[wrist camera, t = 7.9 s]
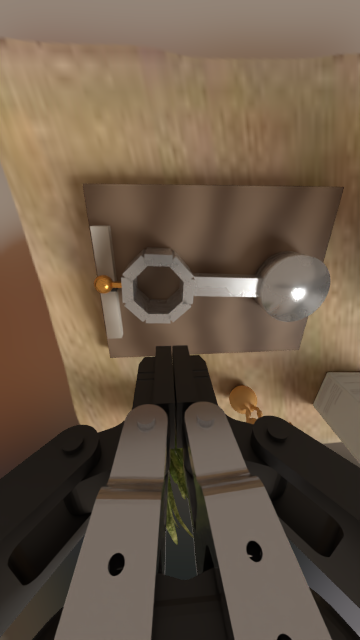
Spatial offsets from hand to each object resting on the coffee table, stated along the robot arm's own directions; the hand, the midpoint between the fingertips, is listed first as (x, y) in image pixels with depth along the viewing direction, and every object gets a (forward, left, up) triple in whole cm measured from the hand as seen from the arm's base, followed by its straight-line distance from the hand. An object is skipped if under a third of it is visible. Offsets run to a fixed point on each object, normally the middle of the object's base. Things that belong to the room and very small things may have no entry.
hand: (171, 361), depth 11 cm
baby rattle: (-5, 0, -15) cm, 16 cm away
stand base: (-5, +1, -17) cm, 18 cm away
